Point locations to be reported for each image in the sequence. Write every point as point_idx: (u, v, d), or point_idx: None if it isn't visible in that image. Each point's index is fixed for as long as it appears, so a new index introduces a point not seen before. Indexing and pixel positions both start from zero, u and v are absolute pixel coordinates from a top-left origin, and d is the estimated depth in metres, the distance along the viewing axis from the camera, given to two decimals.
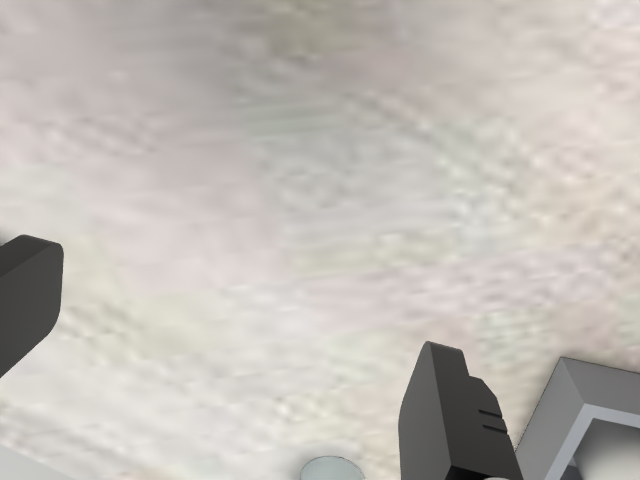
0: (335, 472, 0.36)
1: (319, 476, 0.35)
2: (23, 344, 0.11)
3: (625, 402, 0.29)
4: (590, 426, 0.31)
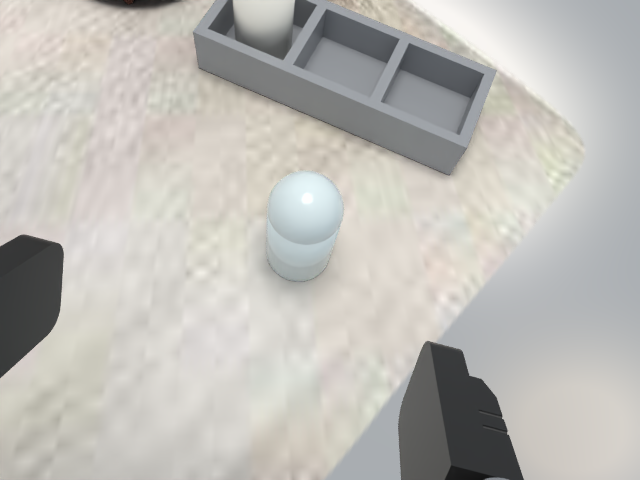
0: None
1: (266, 244, 0.37)
2: (23, 344, 0.11)
3: None
4: None
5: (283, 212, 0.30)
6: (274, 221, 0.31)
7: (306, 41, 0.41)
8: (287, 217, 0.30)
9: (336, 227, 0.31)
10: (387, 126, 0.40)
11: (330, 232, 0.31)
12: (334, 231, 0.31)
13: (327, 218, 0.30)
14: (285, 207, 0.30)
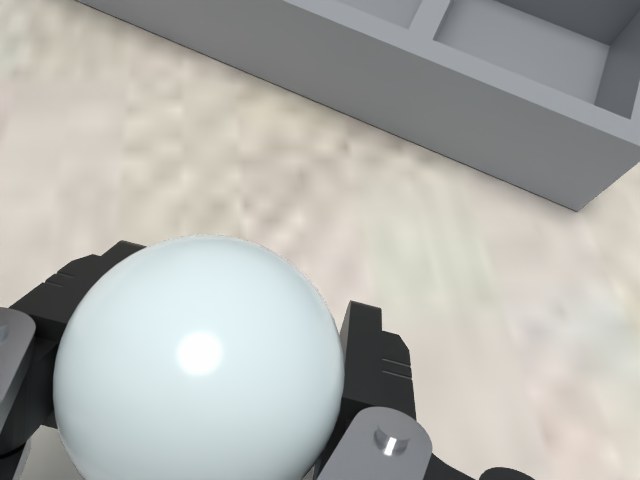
0: None
1: None
2: None
3: None
4: None
5: (83, 431, 0.07)
6: None
7: None
8: (99, 455, 0.07)
9: (316, 458, 0.08)
10: (446, 101, 0.17)
11: None
12: (309, 469, 0.08)
13: (275, 451, 0.07)
14: (90, 412, 0.07)
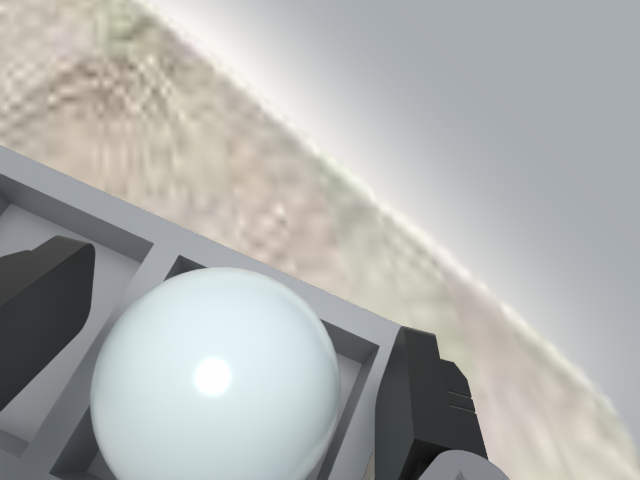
0: None
1: None
2: (58, 341, 0.11)
3: None
4: None
5: (121, 439, 0.08)
6: (103, 452, 0.09)
7: None
8: (134, 459, 0.08)
9: (316, 462, 0.09)
10: None
11: None
12: (310, 472, 0.10)
13: (282, 456, 0.08)
14: (126, 423, 0.08)
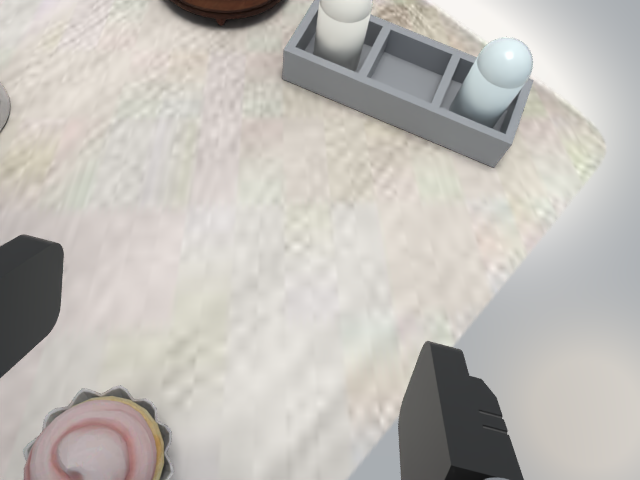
0: (454, 99, 0.50)
1: (455, 106, 0.49)
2: (23, 344, 0.11)
3: None
4: None
5: (497, 62, 0.43)
6: (487, 71, 0.44)
7: (376, 57, 0.49)
8: (501, 65, 0.43)
9: (529, 76, 0.44)
10: (444, 127, 0.48)
11: (526, 79, 0.44)
12: (527, 79, 0.44)
13: (527, 66, 0.43)
14: (499, 58, 0.43)
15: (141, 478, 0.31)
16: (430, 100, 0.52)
